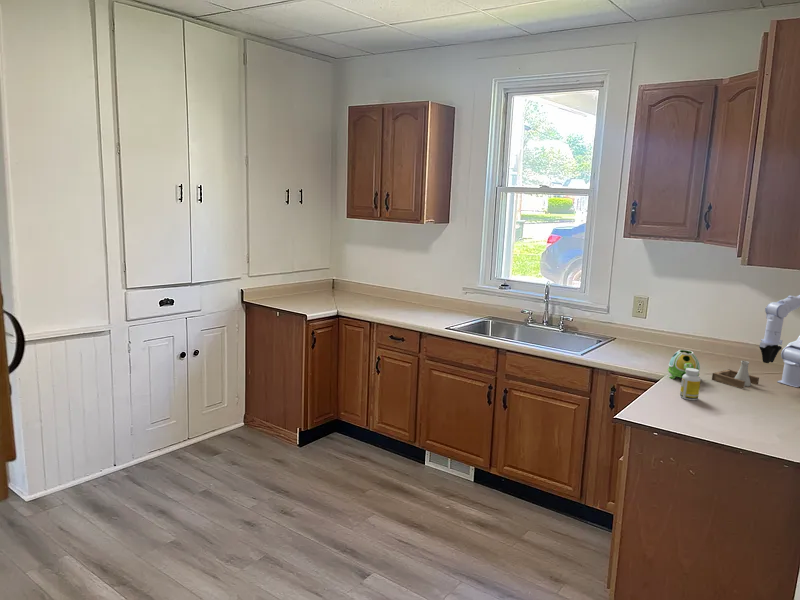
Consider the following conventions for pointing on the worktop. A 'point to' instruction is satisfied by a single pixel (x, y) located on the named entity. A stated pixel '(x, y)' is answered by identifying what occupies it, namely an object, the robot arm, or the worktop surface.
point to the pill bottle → (690, 384)
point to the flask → (744, 373)
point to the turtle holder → (682, 363)
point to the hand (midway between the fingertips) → (767, 362)
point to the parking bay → (732, 378)
